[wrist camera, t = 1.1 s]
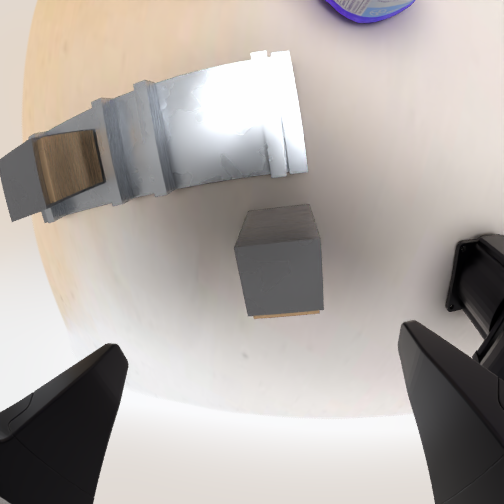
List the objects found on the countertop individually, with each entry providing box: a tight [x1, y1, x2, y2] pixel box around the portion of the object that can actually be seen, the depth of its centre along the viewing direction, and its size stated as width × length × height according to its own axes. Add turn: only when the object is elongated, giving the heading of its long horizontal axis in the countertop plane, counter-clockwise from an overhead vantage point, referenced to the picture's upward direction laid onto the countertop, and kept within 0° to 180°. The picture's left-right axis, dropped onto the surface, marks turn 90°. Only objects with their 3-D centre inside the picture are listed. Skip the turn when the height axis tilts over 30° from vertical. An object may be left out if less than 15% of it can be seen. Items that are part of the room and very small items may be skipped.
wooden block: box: [0, 129, 105, 222], centre depth 14 cm, size 4×4×6 cm
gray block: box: [234, 204, 324, 319], centre depth 17 cm, size 4×4×6 cm
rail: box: [29, 51, 308, 223], centre depth 16 cm, size 7×20×3 cm, turn 99°
